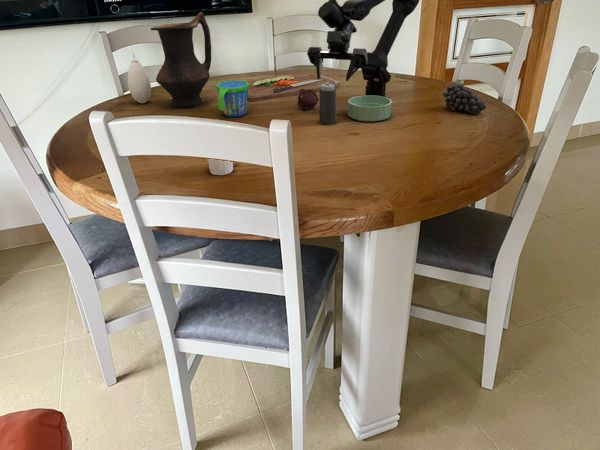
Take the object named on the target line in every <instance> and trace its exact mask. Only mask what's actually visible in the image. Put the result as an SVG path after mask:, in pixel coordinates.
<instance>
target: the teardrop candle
mask: <svg viewBox="0 0 600 450" xmlns="http://www.w3.org/2000/svg"><path fill="white" fill-rule="evenodd" d="M128 66H129V67H128V70H127V86H128V90H129V93H130V95H131V96H132V98H133V100H135V101H137V103H140V104H145V103H146V102H148V100H149V99H150V98H151V95H152V84H151V81H150V76H149V75H148V72H147V70H146V69H145V67H144V65H142V63H141V62H140V60H139V59H138V58H136V56H135V52H134V51H132V59H130V63H129V65H128Z"/></svg>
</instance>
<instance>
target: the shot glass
mask: <svg viewBox="0 0 600 450" xmlns="http://www.w3.org/2000/svg"><path fill="white" fill-rule="evenodd" d="M207 163H208V164H207V165H208V168H209V173H210V174H212V175H215V176H225V175H228V174H231V173H232V172H233V171H234V161H233V162H230V161H222V160H215V159H207Z"/></svg>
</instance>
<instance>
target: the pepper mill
mask: <svg viewBox="0 0 600 450" xmlns="http://www.w3.org/2000/svg"><path fill="white" fill-rule="evenodd" d="M336 102H337V88H336V89H335V85H334V84H330V83H329V82H326V84H322V85H321V88H320V91H319V124H320V125H323V126H331V125H334V124H336V112H337V111H336V110H337V109H336V108H337V107H336V106H337V103H336Z"/></svg>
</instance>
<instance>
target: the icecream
mask: <svg viewBox="0 0 600 450" xmlns="http://www.w3.org/2000/svg"><path fill="white" fill-rule="evenodd" d="M318 101H320V98H319V96H318V95H317V92H314V91H312V90H310V89H309V90H305V89H300V90H299V94H298V96H297V101H296V103H297V105H299V107H300V108H301V109H303V110H305V111H310V110H313V109H315V107H316V106H317V105H318Z"/></svg>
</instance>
